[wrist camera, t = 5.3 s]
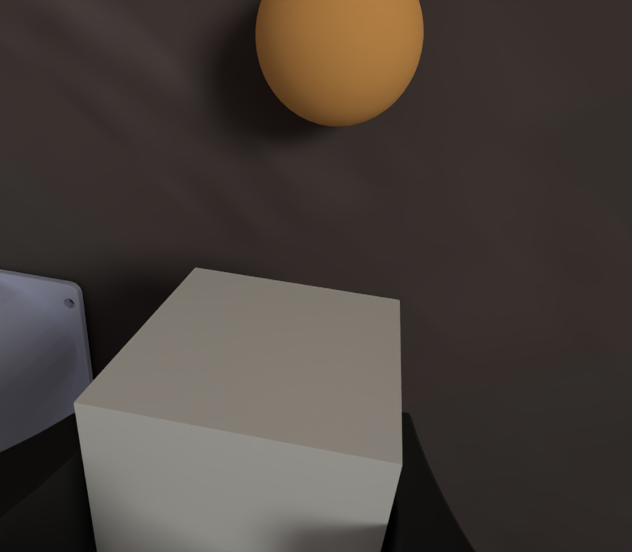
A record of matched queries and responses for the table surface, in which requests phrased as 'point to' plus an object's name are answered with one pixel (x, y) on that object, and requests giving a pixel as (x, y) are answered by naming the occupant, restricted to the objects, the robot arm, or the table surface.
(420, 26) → the ball
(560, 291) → the table surface
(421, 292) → the table surface
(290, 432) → the pale grey cube
